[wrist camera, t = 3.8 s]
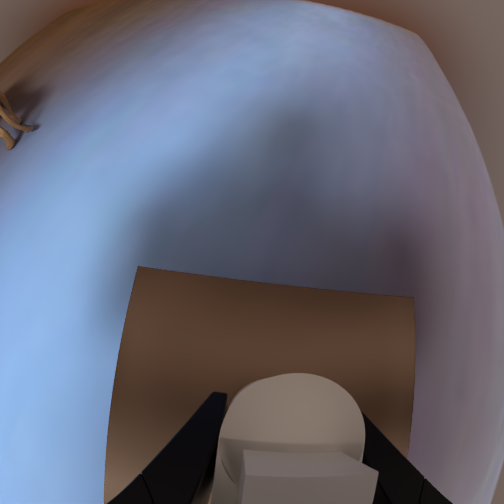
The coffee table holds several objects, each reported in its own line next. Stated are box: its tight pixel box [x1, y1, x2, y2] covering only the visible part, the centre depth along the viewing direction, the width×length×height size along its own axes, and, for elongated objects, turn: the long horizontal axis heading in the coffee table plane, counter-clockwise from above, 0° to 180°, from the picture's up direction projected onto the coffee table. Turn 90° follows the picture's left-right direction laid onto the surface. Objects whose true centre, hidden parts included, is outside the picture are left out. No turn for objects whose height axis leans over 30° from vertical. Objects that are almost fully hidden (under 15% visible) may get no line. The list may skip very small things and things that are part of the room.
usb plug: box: [211, 373, 379, 504], centre depth 6 cm, size 5×3×7 cm, turn 174°
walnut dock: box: [104, 266, 415, 504], centre depth 11 cm, size 12×12×4 cm
